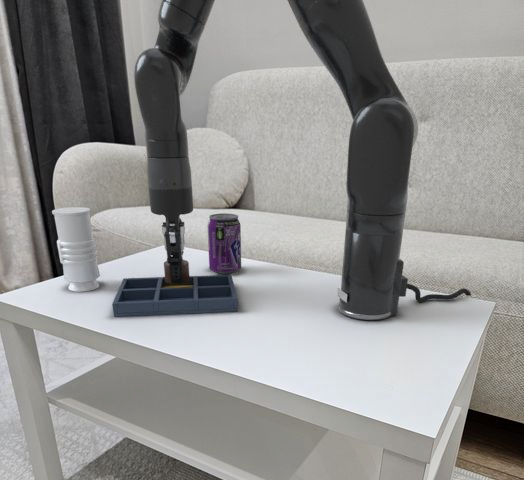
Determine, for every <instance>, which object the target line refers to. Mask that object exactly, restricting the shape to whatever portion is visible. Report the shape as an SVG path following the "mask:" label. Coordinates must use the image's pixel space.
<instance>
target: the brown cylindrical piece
mask: <svg viewBox="0 0 524 480" xmlns="http://www.w3.org/2000/svg"><path fill="white" fill-rule="evenodd" d="M189 264H190V263H189V261H188V260H186V259H183V262H182V271H183V283H186V282H188V281H189V280H190V277H189V276H190V265H189ZM163 271H164V277H165V282H166V283H169V284H172V283H171V276H170V264H169V263H168V261H167V260H166V261H164V262H163ZM183 283H181V284H183Z"/></svg>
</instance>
